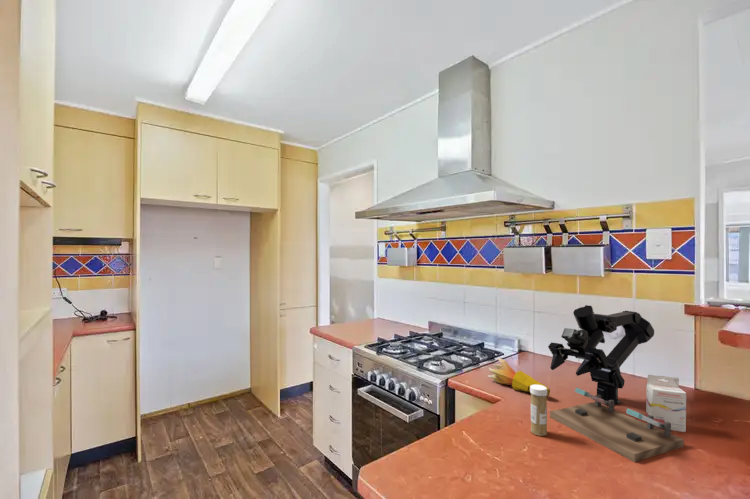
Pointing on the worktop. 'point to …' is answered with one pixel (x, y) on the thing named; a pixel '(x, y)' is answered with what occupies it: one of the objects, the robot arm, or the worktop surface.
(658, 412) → the ink cartridge box
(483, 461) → the worktop surface
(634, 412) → the bar
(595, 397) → the bar
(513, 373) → the torch
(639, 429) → the jig board
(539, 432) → the sprinkles bottle
